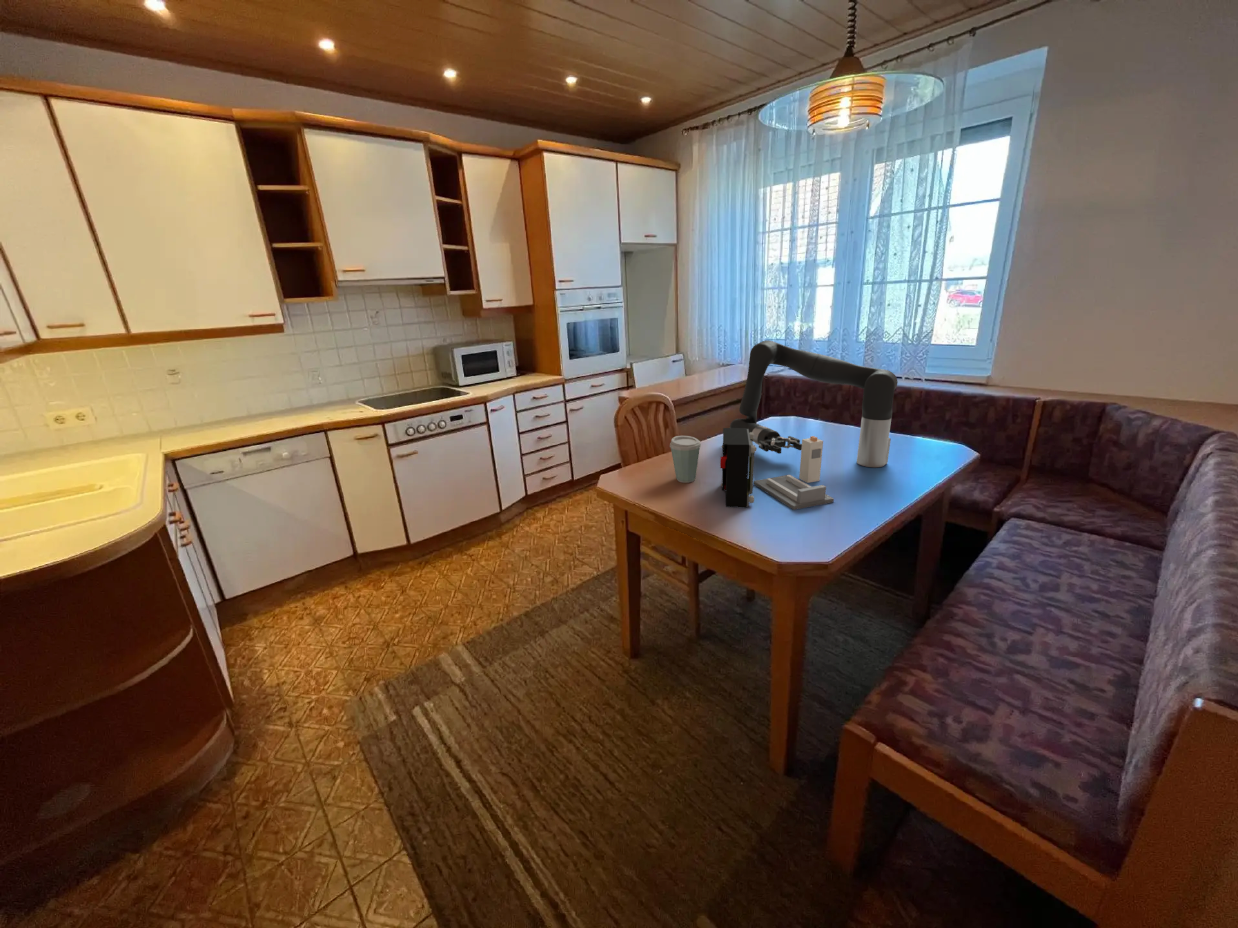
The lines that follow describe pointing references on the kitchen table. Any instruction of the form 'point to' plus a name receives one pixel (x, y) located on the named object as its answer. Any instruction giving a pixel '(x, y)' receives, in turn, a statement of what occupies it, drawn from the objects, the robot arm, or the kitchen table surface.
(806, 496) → the panel
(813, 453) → the block
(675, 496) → the kitchen table surface
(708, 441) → the kitchen table surface
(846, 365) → the robot arm
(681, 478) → the disposable coffee cup
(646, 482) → the kitchen table surface
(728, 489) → the electrical component
